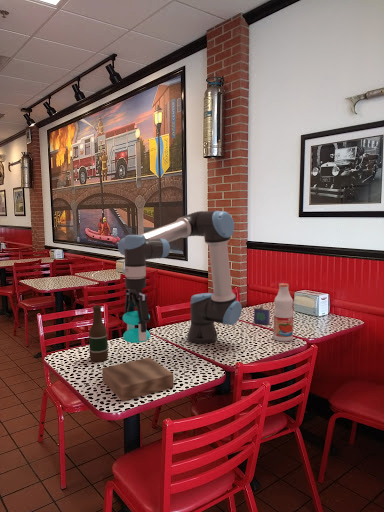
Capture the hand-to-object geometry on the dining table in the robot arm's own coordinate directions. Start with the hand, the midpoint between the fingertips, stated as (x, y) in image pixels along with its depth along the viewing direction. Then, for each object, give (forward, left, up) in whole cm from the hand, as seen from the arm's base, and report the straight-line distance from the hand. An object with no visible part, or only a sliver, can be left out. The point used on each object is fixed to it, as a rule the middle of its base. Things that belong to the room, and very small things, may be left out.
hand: (136, 336), depth 146 cm
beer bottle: (+4, -32, -18) cm, 37 cm away
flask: (-92, -34, -18) cm, 99 cm away
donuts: (0, 0, -1) cm, 1 cm away
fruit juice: (-83, -8, -18) cm, 85 cm away
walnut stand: (0, 0, -18) cm, 18 cm away
